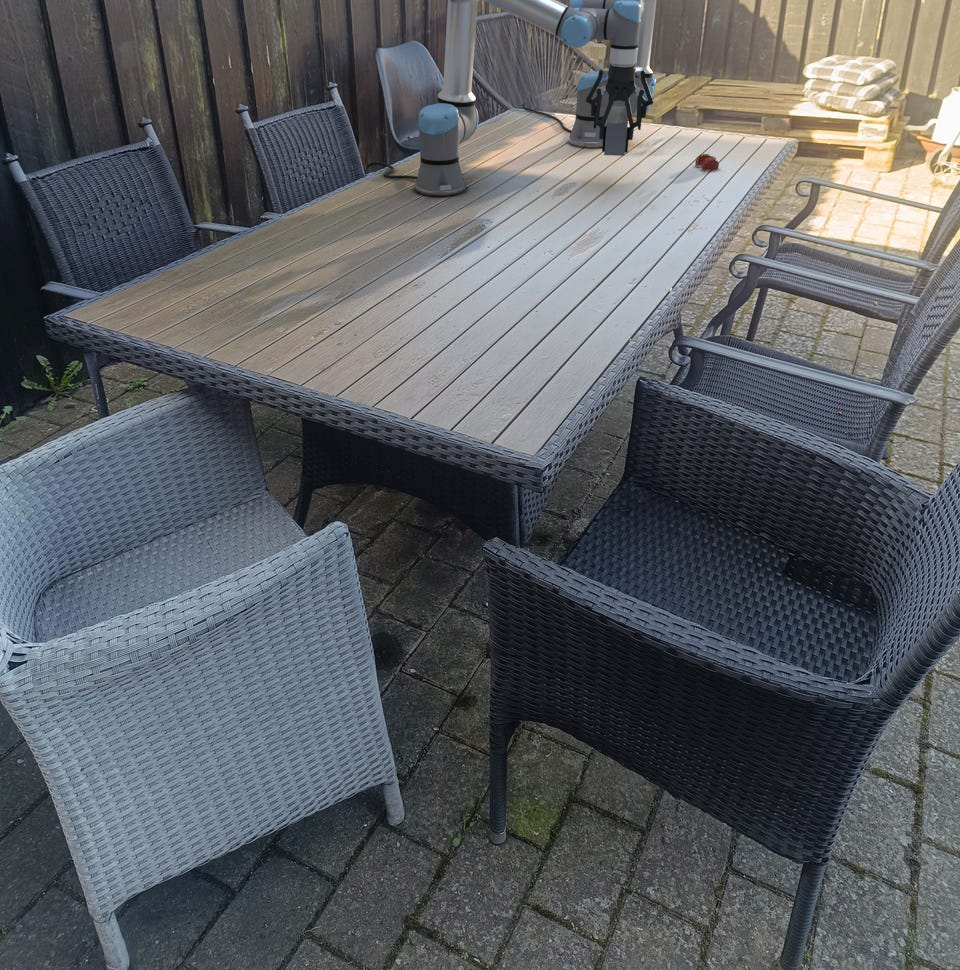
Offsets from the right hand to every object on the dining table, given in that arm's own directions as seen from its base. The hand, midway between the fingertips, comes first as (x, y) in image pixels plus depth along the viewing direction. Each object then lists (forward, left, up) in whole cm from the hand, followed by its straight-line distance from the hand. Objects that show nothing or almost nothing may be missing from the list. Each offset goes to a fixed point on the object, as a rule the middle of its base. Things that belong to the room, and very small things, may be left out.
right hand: (617, 128), depth 260 cm
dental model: (-9, +33, -15) cm, 37 cm away
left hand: (+16, -3, -3) cm, 17 cm away
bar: (+8, -2, -3) cm, 9 cm away
